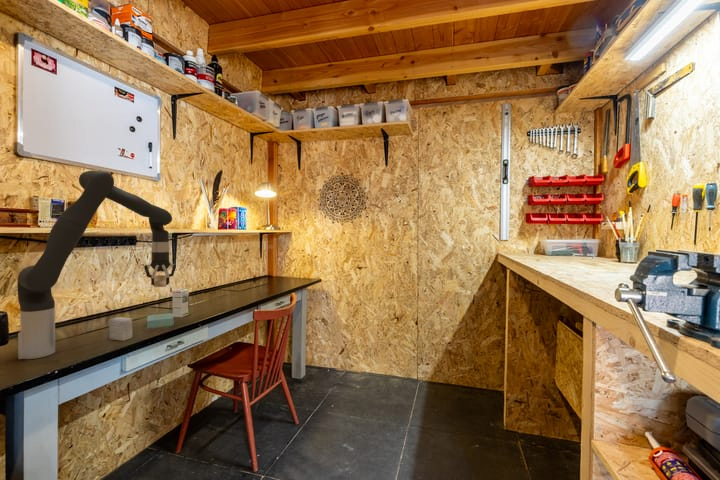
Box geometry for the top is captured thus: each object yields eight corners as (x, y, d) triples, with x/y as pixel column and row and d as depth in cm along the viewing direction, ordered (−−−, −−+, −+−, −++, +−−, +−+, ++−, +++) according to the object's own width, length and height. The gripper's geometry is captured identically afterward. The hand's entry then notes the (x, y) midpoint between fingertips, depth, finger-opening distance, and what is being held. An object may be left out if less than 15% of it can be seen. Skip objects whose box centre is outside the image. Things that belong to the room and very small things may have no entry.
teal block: (147, 329, 159) (147, 320, 159) (147, 323, 168) (147, 315, 168) (173, 326, 164) (173, 318, 164) (172, 320, 174) (172, 313, 174)
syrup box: (182, 317, 179) (182, 290, 178) (172, 316, 180) (172, 290, 179) (189, 314, 184) (189, 288, 184) (179, 314, 185) (179, 288, 185)
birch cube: (154, 287, 162) (154, 277, 162) (154, 285, 166) (154, 275, 166) (166, 286, 164) (166, 276, 164) (166, 284, 169) (166, 275, 169)
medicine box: (132, 338, 145) (132, 318, 144) (122, 341, 140) (122, 321, 140) (118, 336, 147) (118, 316, 147) (108, 339, 143) (108, 319, 142)
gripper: (142, 251, 158) (142, 287, 159) (177, 251, 165) (176, 285, 166) (143, 250, 165) (143, 285, 165) (177, 250, 172) (177, 283, 172)
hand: (160, 285), depth 166 cm, fingers closed on birch cube, 5 cm apart
